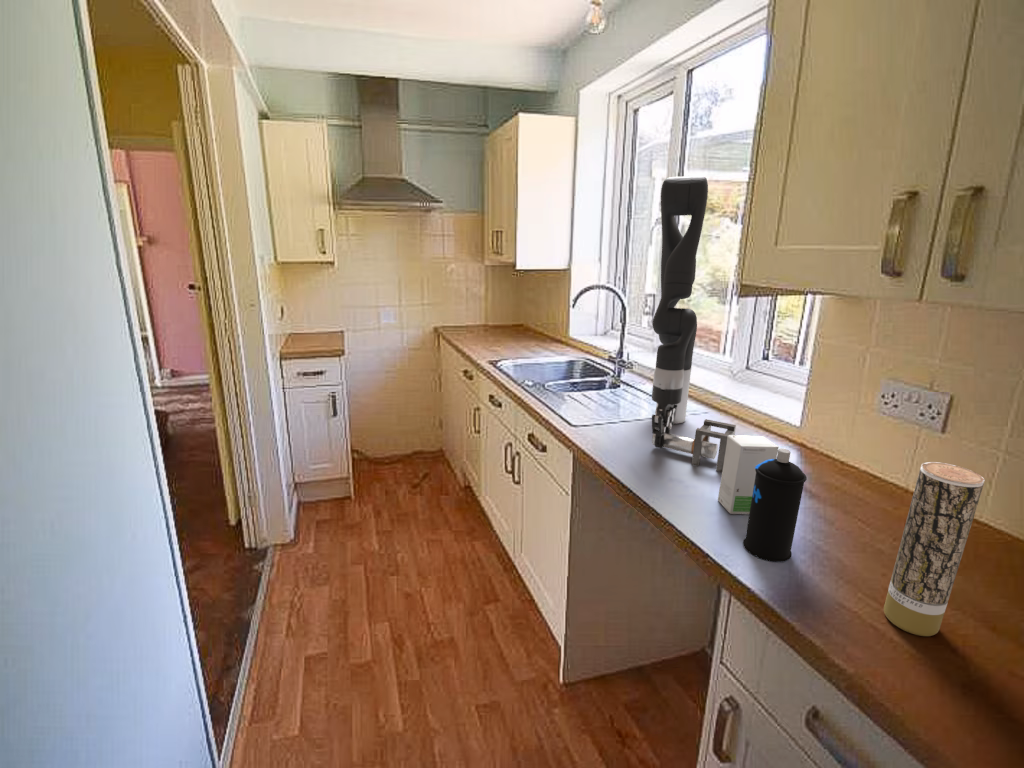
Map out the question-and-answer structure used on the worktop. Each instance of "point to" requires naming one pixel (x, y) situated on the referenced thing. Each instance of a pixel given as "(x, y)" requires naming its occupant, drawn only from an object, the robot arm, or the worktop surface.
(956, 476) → the paper tube
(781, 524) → the aerosol can
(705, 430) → the frame
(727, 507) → the skincare box
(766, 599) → the worktop surface
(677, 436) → the silver cosmetic tube
